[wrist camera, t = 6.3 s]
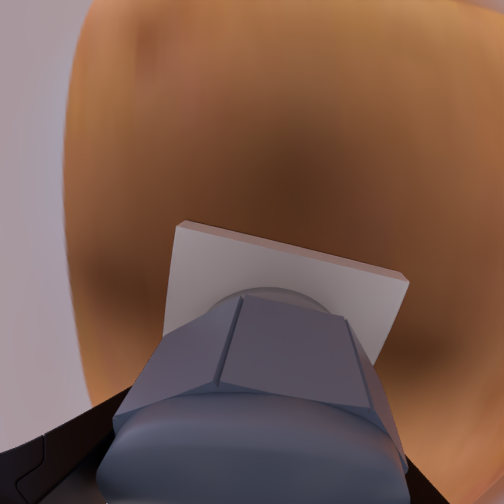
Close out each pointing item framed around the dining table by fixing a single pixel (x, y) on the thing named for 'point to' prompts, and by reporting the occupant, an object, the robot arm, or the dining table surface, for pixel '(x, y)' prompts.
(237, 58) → the dining table surface
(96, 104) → the dining table surface
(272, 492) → the cap
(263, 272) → the two-tone square knobbed fixture
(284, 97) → the dining table surface
